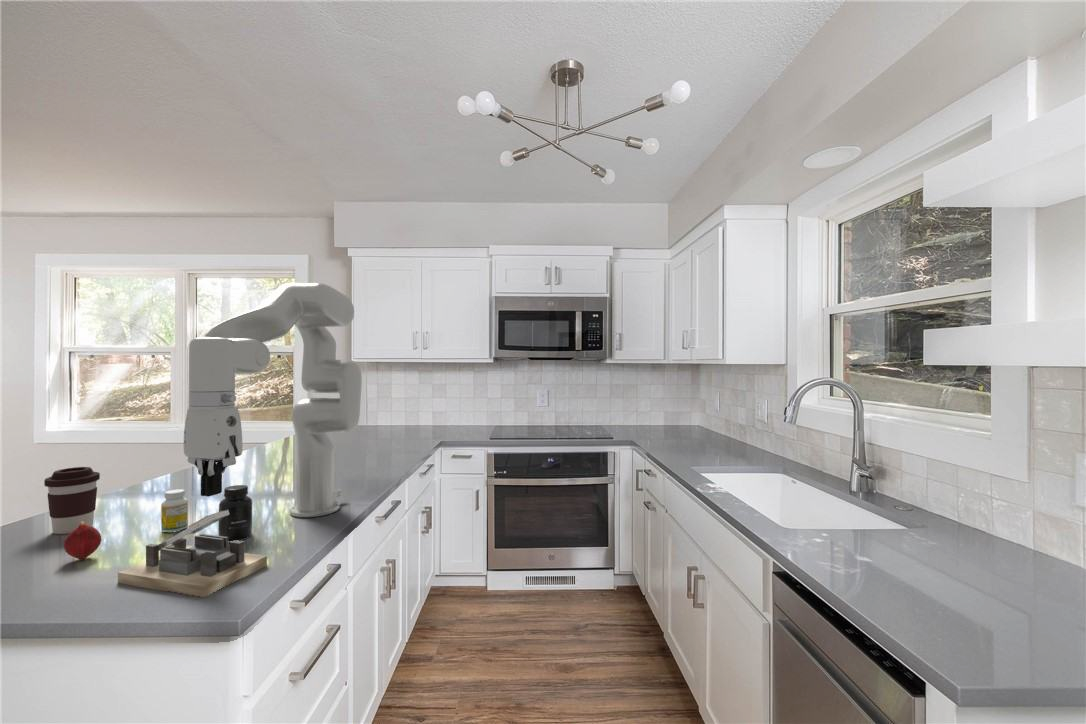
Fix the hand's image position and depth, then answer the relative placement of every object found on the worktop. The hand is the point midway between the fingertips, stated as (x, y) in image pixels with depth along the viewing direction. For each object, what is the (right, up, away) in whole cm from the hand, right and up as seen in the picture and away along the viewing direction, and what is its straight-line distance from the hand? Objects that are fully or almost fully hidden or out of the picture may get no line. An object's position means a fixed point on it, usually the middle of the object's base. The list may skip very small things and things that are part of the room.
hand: (211, 494), depth 96 cm
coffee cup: (-52, -16, +26) cm, 61 cm away
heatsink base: (-4, -16, +2) cm, 17 cm away
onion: (-33, -16, +9) cm, 38 cm away
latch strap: (-5, -8, +2) cm, 10 cm away
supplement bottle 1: (-27, -16, +27) cm, 41 cm away
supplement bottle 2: (-9, -16, +22) cm, 29 cm away
